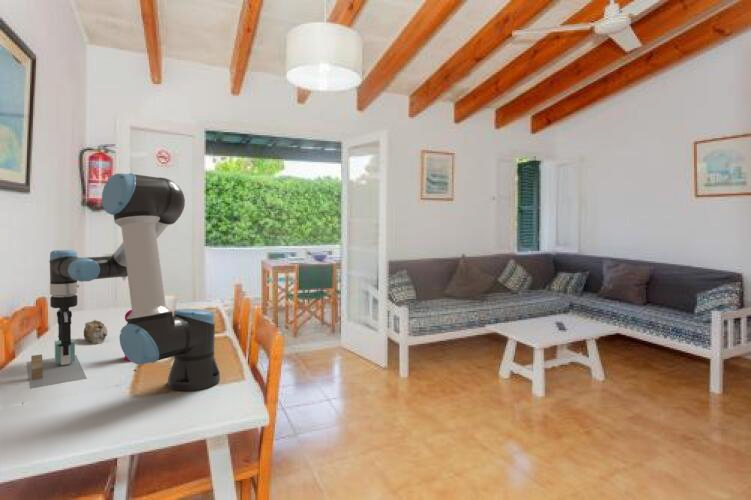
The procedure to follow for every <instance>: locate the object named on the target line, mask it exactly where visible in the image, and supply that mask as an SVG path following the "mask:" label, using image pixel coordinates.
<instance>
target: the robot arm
mask: <svg viewBox="0 0 751 500" xmlns="http://www.w3.org/2000/svg"><path fill="white" fill-rule="evenodd" d="M101 203H102V205H101V206H102V208H103V209H104V211H105V213H106V214H108V215H111V216H113V220H114V221H113V222H114V224H116V225H117V226H119V227H120V228H121V234H122V235H121V236H122V243H121V244H120V245H119V247H118V248H117V249H116V250H115V252H113V254H112V255H108V256H107V255H105V256H89V257H87V256H85V257H79V256H78V253H77V250H74V249H56V250H55V249H54V250H52V251H50V254H49V260H48V261H49V279H50V280H49V282H50V283H49V295H51V297H50V302H49V303H50V307H51V308H52V309H58V310H57V311H56V317H57V325H58V335H57V338H58V341H60V340H61V345H58V346H59V347H60V353H61V365H66V364H71V352H70V345H71V339H72V331H71V325H72V316H73V312H72V310H70V308H74V307H77V306H78V295H77V294H78V288H80V285H79V284H78V282H91V281H94V280H100V279H102V280H103V279H111V278H127V280H128V288H129V297H130V305H131V310H132V312H131V314H130V315H129V316H128V317H127V321H126V324H125V325H124V326H122V328H121V330H120V333H119V344H120V348H121V351H122V353H124V357H125V356H126V357H127V358H128V359H129V360H130V361H129V362H131V363H133V364H135V365H147V364H152V363H153V364H154V363H157V362H158V361H161V360H165V359H167V358H168V359H169V358H172V357H173V359H174V360H173V363H172V365H171V368H170V372H169V375H168V378H167V387H168V388H170V389H171V390H174V391H178V392H179V391H180V392H190V391H191V392H192V391H200V390H205V389H208V388H211V387H213V386H216V385H217V384H218V383H220V380H221V372H220V368H219V366H218V364H217V360H216V358H215V333H216V332H215V328H216V327H215V325H216V322H215V315H214V313H213V312H212V311H210V310H208V309H207V310H206V309H201V308H200V309H198V308H178V309H177V308H176V309H175V310H174V312H173V310H172V309H171V308H169V307H168V306H167V305H166V299H165V298H166V297H165V290H164V285H163V283H164V282H163V276H162V268H161V262H160V261H161V260H160V259H161V258H160V252H159V245H158V238H159V236H160V235H162V234H163V232H164V231H165V230H166V229H167V227H168V226H170V225H174V224H175V223H176V222H177V221H178V220H179V218H180V217H181V216H182V214H183V213H184V212H183V211H184V209H185V206H186V205H185V204H186V201H185V195H184V192H183V190H182V189H181V187H180V185H178V184H177V183H176V182H175V181H173V180H171V179H169V178H165V177H159V176H158V177H157V176H149V175H141V174H134V173H121V172H120V173H118V172H117V173H115V174H113V175H111V176H110V177H109V178H108V179H107V180H106V182H105V184H104V185H103V189H102V193H101ZM127 323H128V324H127Z"/></svg>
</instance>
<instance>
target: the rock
mask: <svg viewBox="0 0 751 500" xmlns="http://www.w3.org/2000/svg"><path fill="white" fill-rule="evenodd" d="M84 326H85V327H84V329H83V339H85V340H86V341H88V342H91V343H92V345H98V344H101V343H103V342H104V341H105V339H106V338H107V336H108V329H107V327H106V326H105V323H102V322H101V320H96V319H94V320H92V321H87V322H85V323H84Z"/></svg>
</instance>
